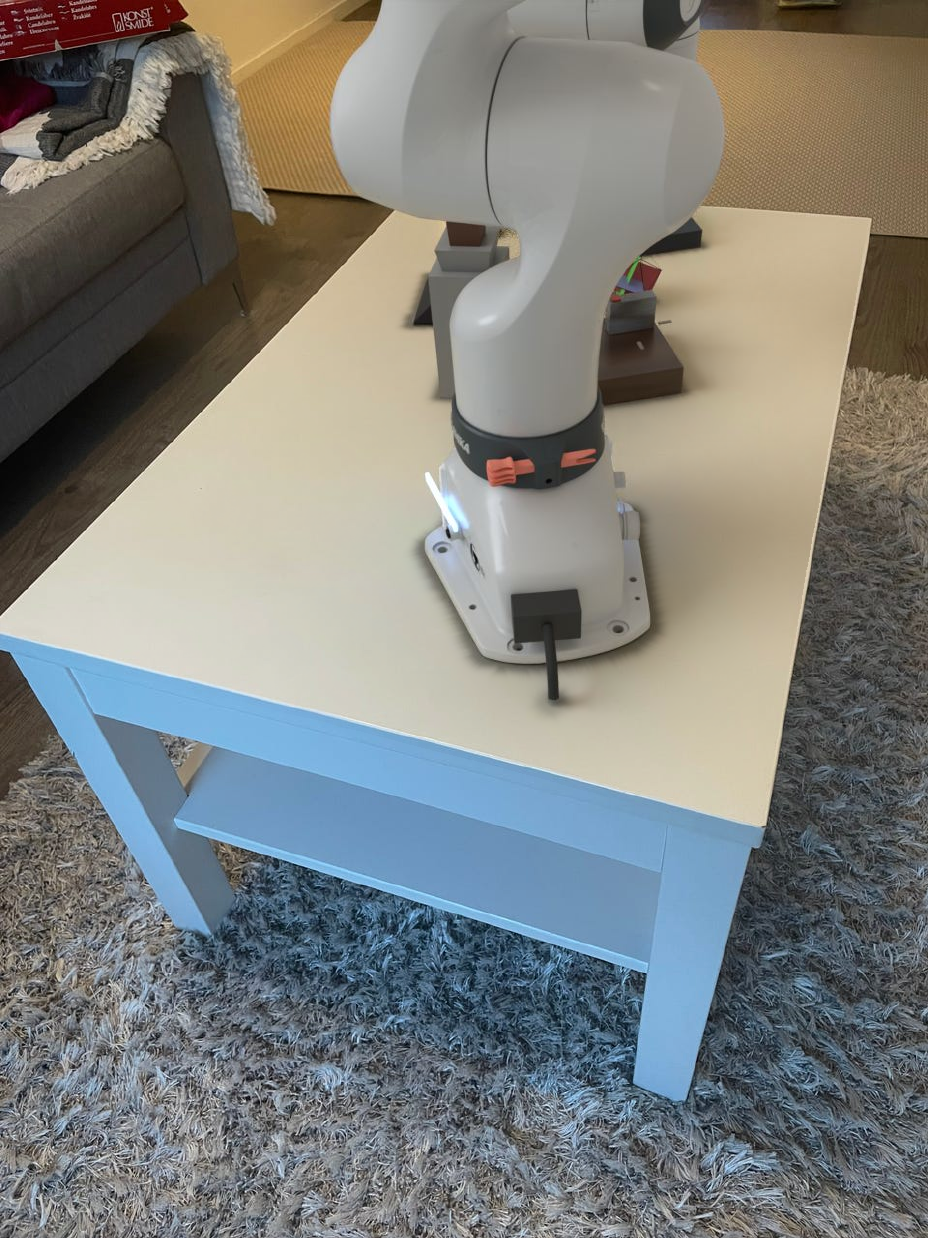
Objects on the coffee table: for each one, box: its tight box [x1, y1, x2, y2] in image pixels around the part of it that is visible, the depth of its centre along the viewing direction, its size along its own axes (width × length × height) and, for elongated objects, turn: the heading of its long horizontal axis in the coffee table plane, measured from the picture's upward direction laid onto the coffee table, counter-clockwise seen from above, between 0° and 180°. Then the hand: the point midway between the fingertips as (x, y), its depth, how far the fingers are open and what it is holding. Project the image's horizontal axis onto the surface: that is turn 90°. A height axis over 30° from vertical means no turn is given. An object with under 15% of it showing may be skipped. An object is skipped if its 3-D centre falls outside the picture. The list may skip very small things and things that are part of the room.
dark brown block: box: [598, 317, 685, 406], centre depth 103 cm, size 14×12×3 cm
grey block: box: [605, 289, 658, 335], centre depth 102 cm, size 5×2×4 cm, turn 100°
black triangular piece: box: [411, 257, 437, 327], centre depth 115 cm, size 12×7×5 cm, turn 173°
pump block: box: [640, 216, 703, 257], centre depth 124 cm, size 12×10×4 cm
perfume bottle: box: [427, 221, 511, 399], centre depth 97 cm, size 7×7×18 cm
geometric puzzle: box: [612, 251, 663, 295], centre depth 111 cm, size 7×7×8 cm
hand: (636, 219), depth 96 cm, fingers open, 8 cm apart
